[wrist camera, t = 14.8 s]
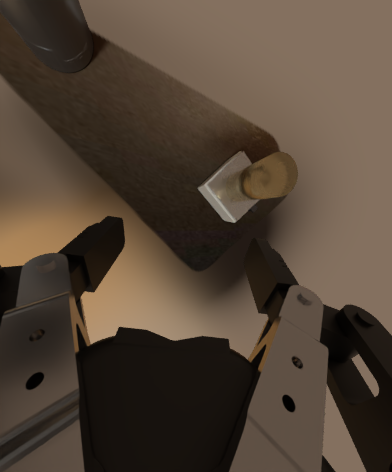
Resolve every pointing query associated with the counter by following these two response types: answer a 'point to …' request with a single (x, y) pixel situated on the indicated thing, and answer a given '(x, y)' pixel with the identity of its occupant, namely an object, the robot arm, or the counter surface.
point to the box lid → (219, 188)
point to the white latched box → (211, 197)
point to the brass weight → (263, 179)
